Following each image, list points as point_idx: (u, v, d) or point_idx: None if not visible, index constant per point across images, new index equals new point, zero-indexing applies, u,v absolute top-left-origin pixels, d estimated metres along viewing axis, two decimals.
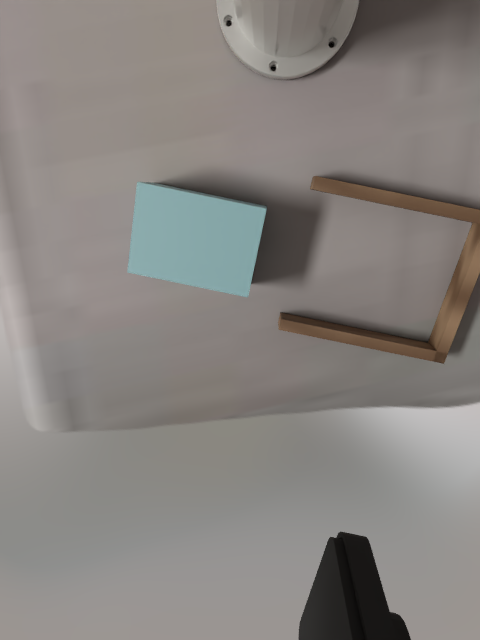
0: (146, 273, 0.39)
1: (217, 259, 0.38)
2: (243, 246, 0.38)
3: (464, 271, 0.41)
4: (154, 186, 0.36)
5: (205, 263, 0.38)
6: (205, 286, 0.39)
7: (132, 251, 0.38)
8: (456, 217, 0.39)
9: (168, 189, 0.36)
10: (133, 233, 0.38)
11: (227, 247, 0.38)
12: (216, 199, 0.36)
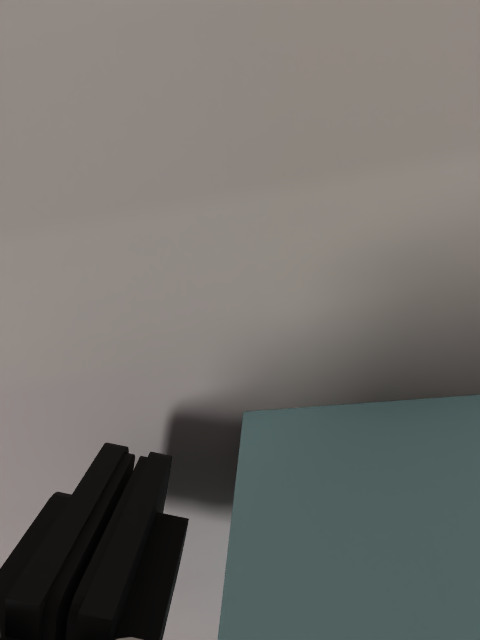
0: None
1: None
2: None
3: None
4: None
5: None
6: None
7: None
8: None
9: None
10: None
11: None
12: None
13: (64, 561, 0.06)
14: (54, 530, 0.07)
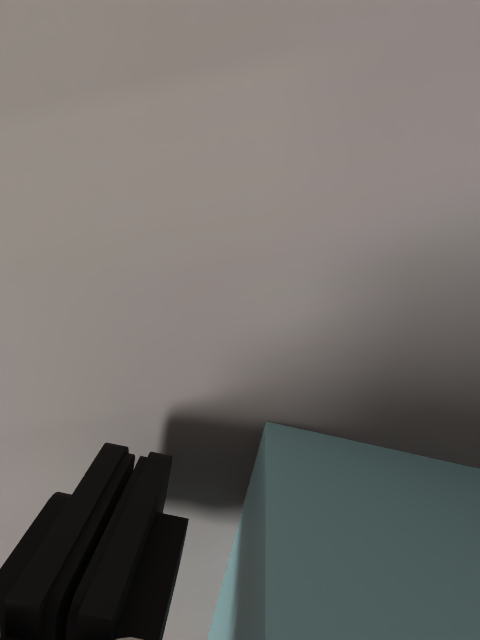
0: None
1: None
2: None
3: None
4: None
5: None
6: None
7: None
8: None
9: None
10: None
11: None
12: None
13: (64, 561, 0.06)
14: (54, 530, 0.07)
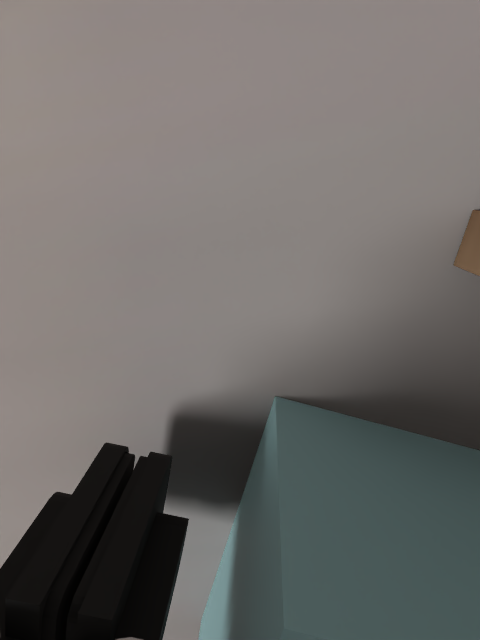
0: None
1: None
2: None
3: None
4: None
5: None
6: None
7: None
8: None
9: None
10: None
11: None
12: None
13: (63, 561, 0.06)
14: (54, 530, 0.07)
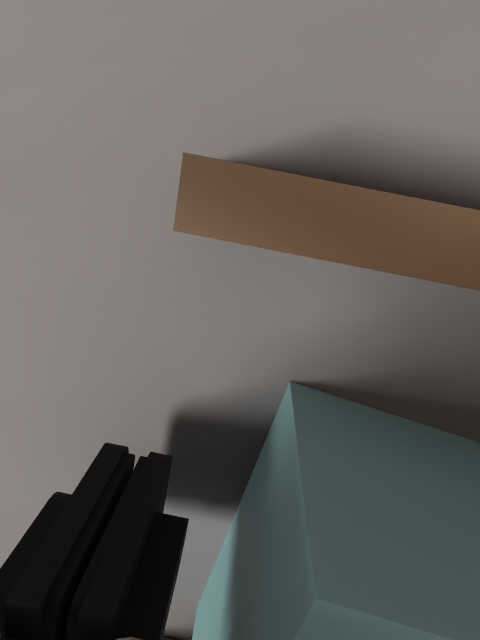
0: None
1: None
2: None
3: None
4: (437, 637, 0.05)
5: None
6: None
7: None
8: None
9: None
10: None
11: None
12: None
13: (64, 561, 0.06)
14: (54, 530, 0.07)
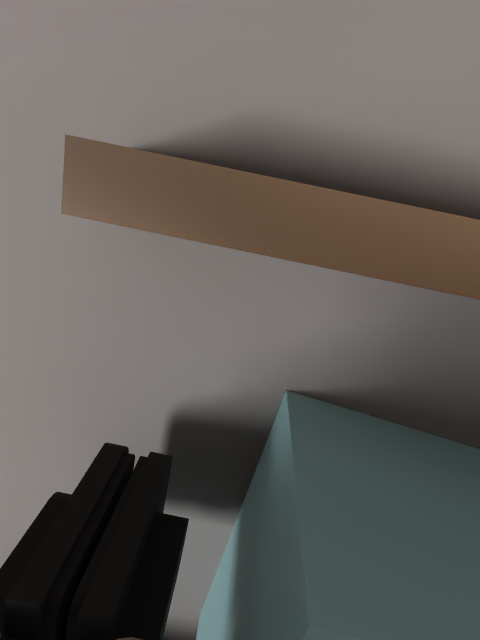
0: None
1: None
2: None
3: None
4: None
5: None
6: None
7: None
8: None
9: None
10: None
11: None
12: None
13: (64, 561, 0.06)
14: (54, 530, 0.07)
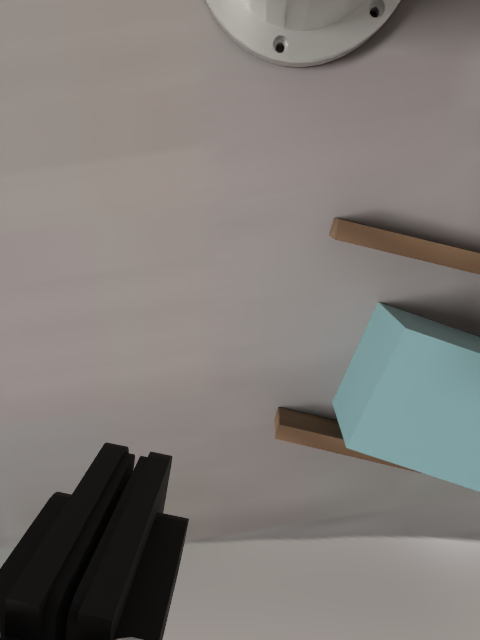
0: (375, 453, 0.25)
1: None
2: None
3: None
4: (430, 338, 0.23)
5: (473, 452, 0.25)
6: (460, 482, 0.26)
7: (364, 421, 0.25)
8: None
9: (451, 345, 0.23)
10: (374, 398, 0.24)
11: None
12: None
13: (64, 561, 0.06)
14: (54, 530, 0.07)
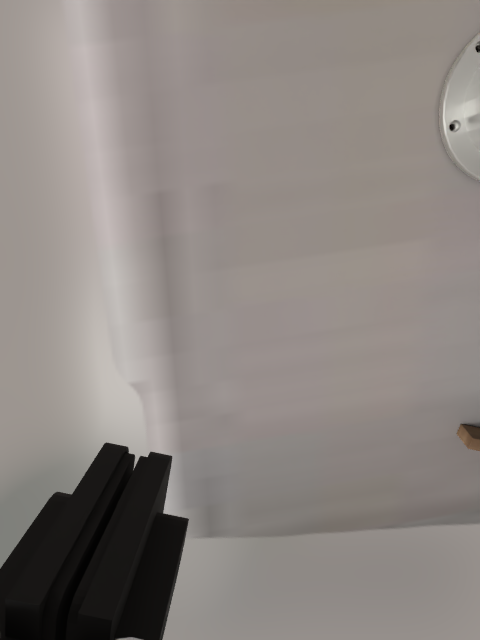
0: None
1: None
2: None
3: None
4: None
5: None
6: None
7: None
8: None
9: None
10: None
11: None
12: None
13: (64, 561, 0.06)
14: (54, 530, 0.07)
